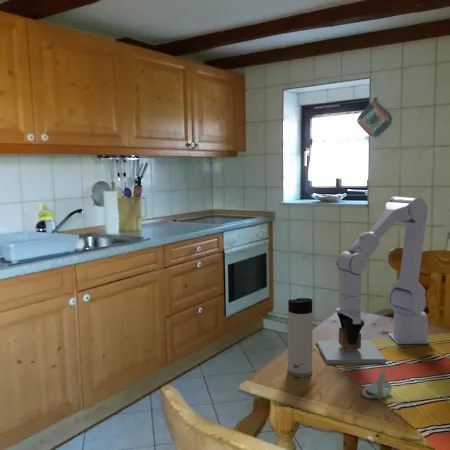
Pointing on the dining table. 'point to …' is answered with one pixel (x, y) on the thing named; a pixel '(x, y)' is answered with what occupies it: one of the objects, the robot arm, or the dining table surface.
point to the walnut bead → (344, 341)
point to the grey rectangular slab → (349, 353)
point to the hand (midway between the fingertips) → (349, 340)
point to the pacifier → (378, 388)
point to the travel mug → (300, 337)
